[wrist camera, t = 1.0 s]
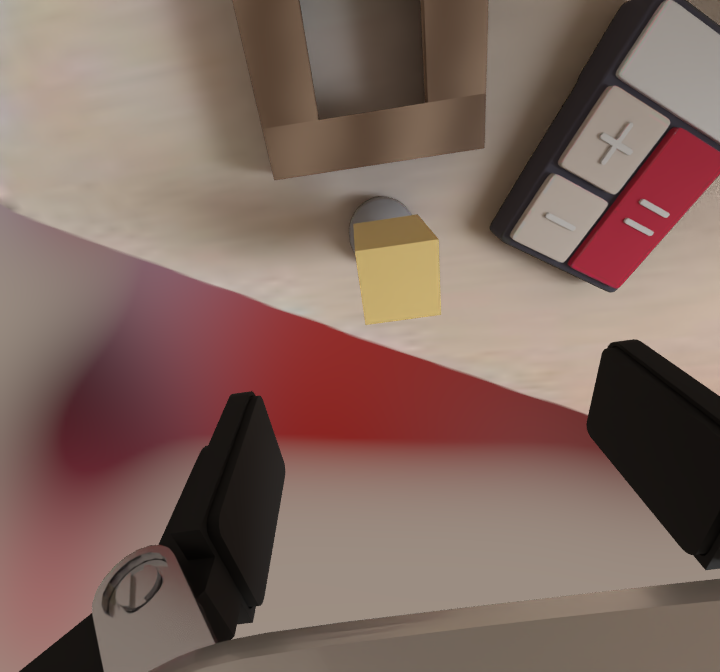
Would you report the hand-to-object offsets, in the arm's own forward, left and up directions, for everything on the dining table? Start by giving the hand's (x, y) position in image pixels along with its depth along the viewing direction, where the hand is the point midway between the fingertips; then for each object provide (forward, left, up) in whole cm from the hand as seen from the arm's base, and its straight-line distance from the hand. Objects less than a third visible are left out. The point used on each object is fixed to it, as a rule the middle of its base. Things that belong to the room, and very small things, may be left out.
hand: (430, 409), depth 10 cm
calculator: (-17, -2, -22) cm, 28 cm away
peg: (0, 0, -21) cm, 21 cm away
